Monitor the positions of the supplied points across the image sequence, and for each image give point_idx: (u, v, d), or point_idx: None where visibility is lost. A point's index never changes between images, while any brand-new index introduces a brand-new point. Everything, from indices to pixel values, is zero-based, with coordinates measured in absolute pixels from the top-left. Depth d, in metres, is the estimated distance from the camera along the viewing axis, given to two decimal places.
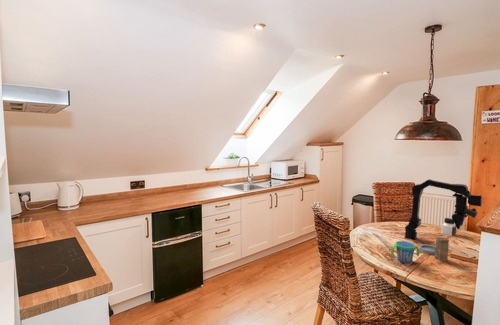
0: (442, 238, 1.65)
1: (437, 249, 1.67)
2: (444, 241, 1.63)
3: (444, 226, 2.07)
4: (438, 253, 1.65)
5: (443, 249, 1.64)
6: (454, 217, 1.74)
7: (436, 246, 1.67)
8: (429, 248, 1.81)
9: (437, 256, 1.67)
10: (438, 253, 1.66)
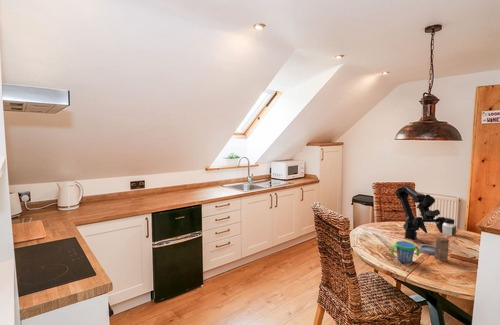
0: (442, 238, 1.65)
1: (437, 249, 1.67)
2: (444, 241, 1.63)
3: (444, 226, 2.07)
4: (438, 253, 1.65)
5: (443, 249, 1.64)
6: (413, 222, 1.80)
7: (436, 246, 1.67)
8: (429, 248, 1.81)
9: (437, 256, 1.67)
10: (438, 252, 1.66)
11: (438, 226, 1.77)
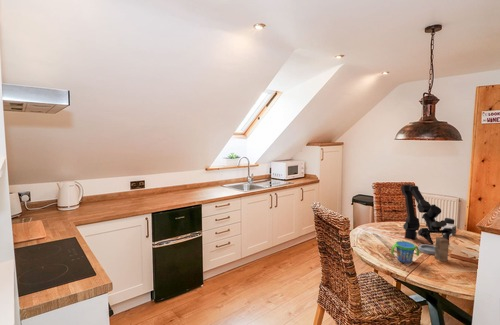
0: (442, 238, 1.65)
1: (437, 249, 1.67)
2: (444, 241, 1.63)
3: (444, 226, 2.07)
4: (438, 253, 1.65)
5: (443, 249, 1.64)
6: (418, 233, 1.74)
7: (436, 246, 1.67)
8: (429, 248, 1.81)
9: (437, 256, 1.67)
10: (438, 253, 1.66)
11: None
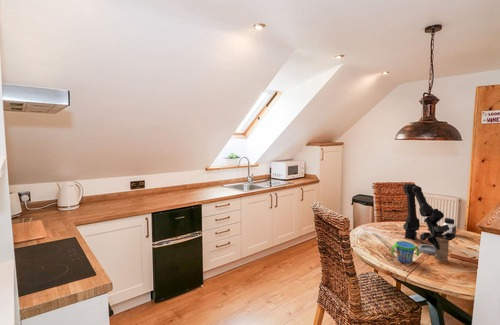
0: (442, 238, 1.65)
1: (437, 249, 1.67)
2: (444, 241, 1.63)
3: None
4: (438, 253, 1.65)
5: (443, 249, 1.64)
6: (420, 237, 1.71)
7: None
8: (429, 248, 1.81)
9: (437, 256, 1.67)
10: (438, 252, 1.66)
11: None
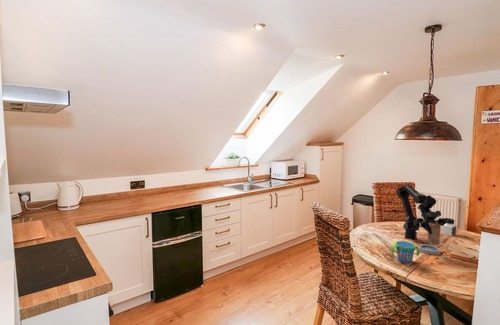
0: (434, 223, 1.72)
1: None
2: (436, 226, 1.71)
3: (444, 226, 2.07)
4: (430, 238, 1.73)
5: (435, 233, 1.71)
6: (414, 223, 1.79)
7: None
8: (429, 248, 1.81)
9: (429, 240, 1.74)
10: (430, 237, 1.73)
11: None
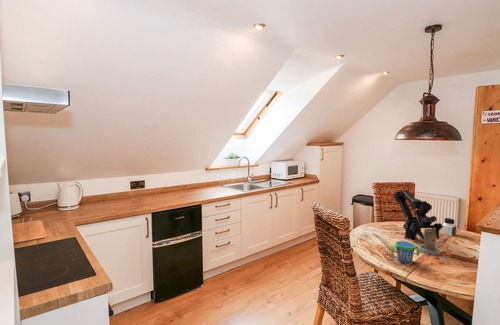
0: (430, 230, 1.77)
1: (425, 240, 1.79)
2: (432, 232, 1.75)
3: (444, 226, 2.07)
4: (426, 244, 1.78)
5: (431, 240, 1.76)
6: (410, 228, 1.84)
7: (424, 237, 1.79)
8: None
9: (425, 246, 1.79)
10: (426, 243, 1.78)
11: None
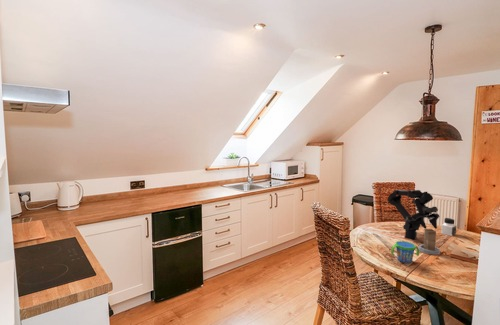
0: (430, 230, 1.77)
1: (425, 240, 1.79)
2: (432, 232, 1.75)
3: (444, 226, 2.07)
4: (426, 244, 1.78)
5: (431, 240, 1.76)
6: (413, 217, 1.85)
7: (424, 237, 1.79)
8: None
9: (425, 246, 1.79)
10: (426, 243, 1.78)
11: (431, 222, 1.87)
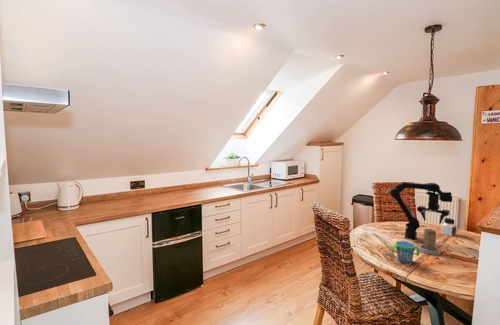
0: (430, 230, 1.77)
1: (425, 240, 1.79)
2: (432, 232, 1.75)
3: (444, 226, 2.07)
4: (426, 244, 1.78)
5: (431, 240, 1.76)
6: (448, 214, 1.87)
7: (424, 237, 1.79)
8: None
9: (425, 246, 1.79)
10: (426, 243, 1.78)
11: (424, 214, 1.97)
